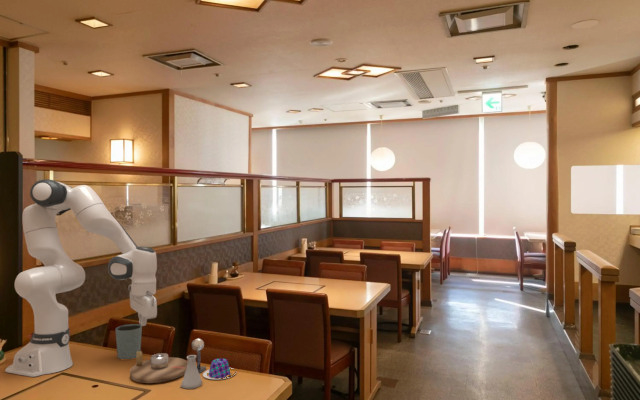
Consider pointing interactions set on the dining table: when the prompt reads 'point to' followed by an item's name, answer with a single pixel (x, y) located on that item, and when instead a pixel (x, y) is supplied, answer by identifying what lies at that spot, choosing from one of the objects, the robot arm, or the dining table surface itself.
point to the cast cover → (159, 361)
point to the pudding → (218, 369)
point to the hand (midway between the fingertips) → (142, 324)
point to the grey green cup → (128, 340)
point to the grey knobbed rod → (198, 352)
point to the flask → (191, 374)
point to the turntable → (148, 375)
